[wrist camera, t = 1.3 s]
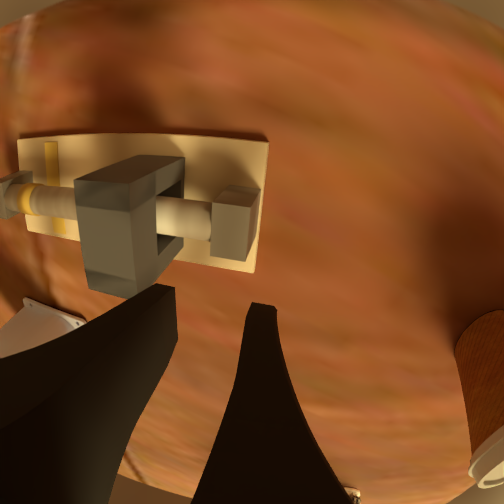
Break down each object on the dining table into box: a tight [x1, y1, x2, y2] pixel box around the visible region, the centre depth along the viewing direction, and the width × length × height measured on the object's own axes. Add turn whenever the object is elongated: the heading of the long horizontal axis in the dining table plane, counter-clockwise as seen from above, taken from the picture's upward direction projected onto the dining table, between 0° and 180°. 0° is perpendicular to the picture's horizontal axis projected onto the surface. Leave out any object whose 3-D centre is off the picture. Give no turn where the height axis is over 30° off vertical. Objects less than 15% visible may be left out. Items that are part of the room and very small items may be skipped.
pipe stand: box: [0, 133, 269, 273], centre depth 17 cm, size 20×8×4 cm, turn 85°
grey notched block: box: [73, 154, 185, 299], centre depth 15 cm, size 3×6×6 cm, turn 175°
